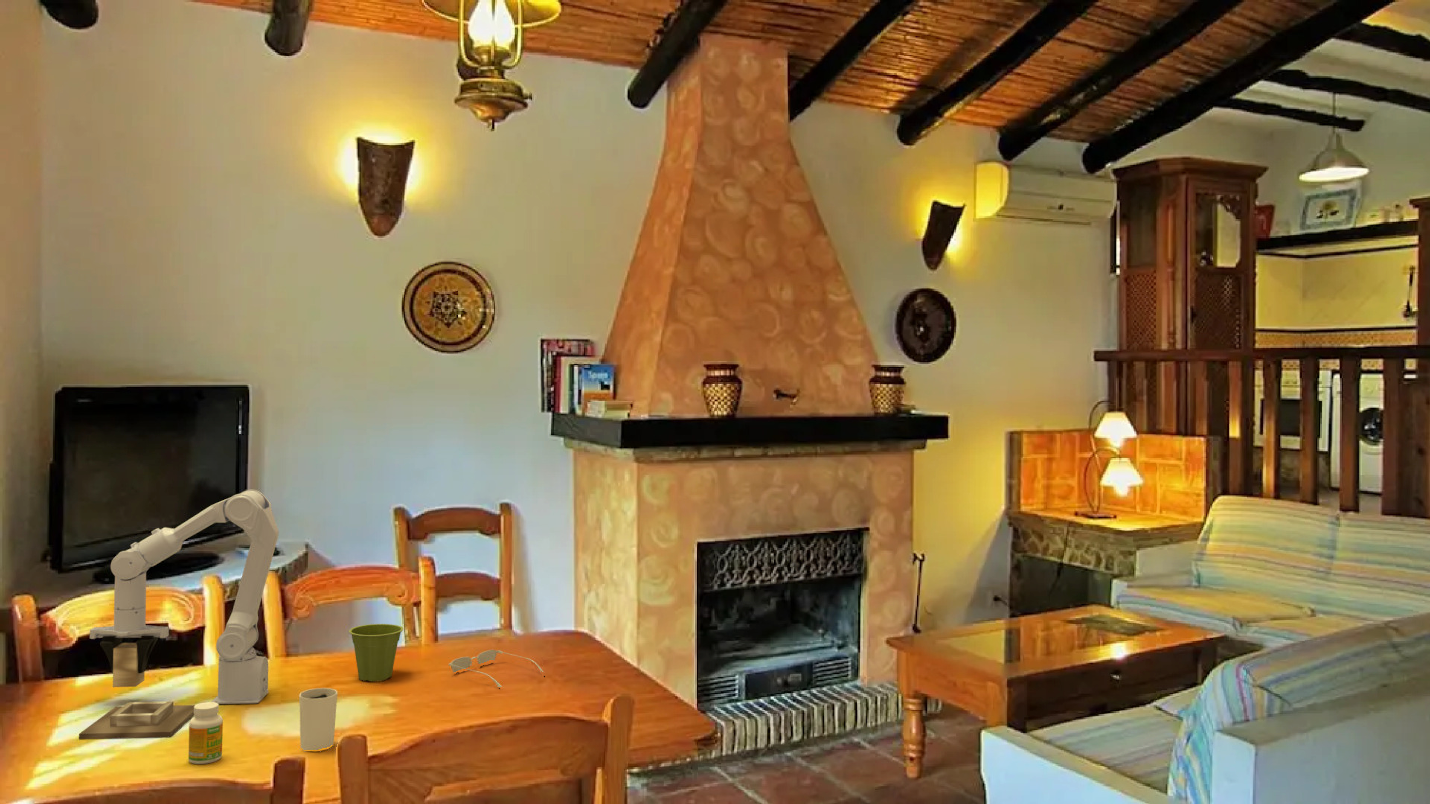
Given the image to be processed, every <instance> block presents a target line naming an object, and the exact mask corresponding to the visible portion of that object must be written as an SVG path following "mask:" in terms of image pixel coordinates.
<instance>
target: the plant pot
mask: <svg viewBox="0 0 1430 804" xmlns="http://www.w3.org/2000/svg"><path fill="white" fill-rule="evenodd" d="M403 631H404V627H403V626H401V625H397V624H392V623H371V624H363V625H357V626H353V627H351V628H350V629H349V630H348V632H349V634H350V635H351V639H352V644H353V647H354V654H355V655H354V656H355V661H356V667H357V675H358V679H359V680H361V681H362V680H363V682H364V681H365V682H366V681H369V682H372V681H377V682H380V681H381V682H383V681H385V680H388V679H389V678H391V677H392V675H393V669H394V664H395V660H396V655H397V649H398V644H399V641H400V638H401V633H402V632H403Z"/></svg>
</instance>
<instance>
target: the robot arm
mask: <svg viewBox="0 0 1430 804" xmlns="http://www.w3.org/2000/svg"><path fill="white" fill-rule="evenodd" d="M228 522H231V523H233V524H234V525H236V526H238V527H239V528H241V529H242V530H243V531H244V532H245V533H246V534H247V536H248V537H249V539H250V541H251V542H250V546H249V550H248V552H247V556H246V560H245V564H244V567H243V571H242V575H241V579H240V581H239V586H238V590H237V594H236V596H235V601H234V604H233V609H232V611H231V614H230V616H229V619H228V621H227V622H226V625H225V630H224V631H223V633H221V634H220V636H219V637H218V638H217V640H216V646H215V647H216V651H217V653H218V654H217V655H218V668H217V669H218V671H217V672H218V675H217V676H218V678H217V679H218V680H217V696H215V697H214V698H213V699H212V700H211V701H210V702H215V703H218V704H219V705H222V704H223V705H227V704H228V705H229V704H230V705H235V704H239V705H240V704H259V703H260V702H261V701H262V700H263V699H264V697H266V695H267V694H268V693H269V692H270V691H269V660H268V658H267V657H266V656H259V655H257V652H256V650H255V648H254V647H253V646H255V644H256V643H257V641H258V640H259V630H258V621H259V616H258V615H259V609H260V605H261V602H262V599H263V598H262V597H263V594H264V591H265V587H266V583H267V579H268V575H269V573H270V569H271V568H270V567H271V565H272V560H273V558H274V557H273V556H274V552H275V550H276V546H277V542H278V539H279V538H278V537H279V528H278V525H277V523H276V519H275V517H274V514H273V510H272V503H271V502H270V501H269V500H268V498H267V497H266V496H265V495H264V493H262V492H260V491H259V490H257V489H245V490H244V491H242V492H240V493H237V494H234V495H232V496H231V497H228V498H226V499H224V500H221V501H219V502H216V503H214V504H211V505H210V506H208V507H206V508H205V509H203V510H202V511H200V512H199V513H197V514H196V515H194V516H193V517H191V518H189V519H188V520H186V521H185V522H183V523H181V524H180V525H178V526H176V527H175V528H172V527H163V528H159V527H158V528H155V529H153V530H152V531H151V532H150V533H151V535H149V536H148V537H146V538H144V539H142V540H140V541H139V542H137V541H135V542H133V543H132V544H130V548H129V549H126V550H122V551H120V552H118V553H117V554H116V556H115V557H113V559H112V560H111V563H110V571H111V573H112V574H113V576H114V590H113V591H114V594H113V595H114V597H113V602H114V603H113V605H114V606H113V626H112V625H111V626H100V627H98V626H95V627H92V628H91V629H89V639H91V640H95V639H97V638H98V639H102V640H101V641H100V643H99V644H100V647H101V648H102V650H103V651H104V654H105V655H106V657H107V659H108V662H109V666H110V670H111V673H112V675H113V648H115V647H117V646H118V645H120V644H122V643H123V639H124V638H126V639H127V638H128V639H129V638H138V640H136V642H135V643H136V644H137V649H138V673H143V672H144V671H146V669H147V665H148V661H149V658H150V655H151V653H152V650H153V649H154V647H155V645H156V643H157V641H158V638H160V639H166V638H167V637H168V636H169V635H170V633H169V632H170V631H169V628H170V627H169V626H161V625H160V626H157V625H148V624H147V625H146V623H147V622H146V621H147V620H146V617H147V616H146V613H147V612H146V611H147V610H146V609H147V571H148V570H149V569H150V568H151V567H154V566H157V564H159V563H161V562H162V561H165V560H166V559H168V558H170V557H171V556H173V555H174V554H176V553H178V552H179V551H181V549H182V547H183V542H184V541H185V540H186V539H188V538H190V537H192V536H194V535H197V533H199V532H201V531H203V530H204V529H206V528H208V527H209V526H211V525H213V524H216V523H218V524H219V523H220V524H221V523H224V524H225V523H228ZM139 638H140V639H139Z"/></svg>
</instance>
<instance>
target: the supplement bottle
mask: <svg viewBox="0 0 1430 804" xmlns="http://www.w3.org/2000/svg"><path fill="white" fill-rule="evenodd" d="M194 705H195V706H194V716H193V717H192V718H191V719H190V720H189V724H188V754H187V755H188V759H187V760H188V762H189V763H191V764H194V765H195V764H196V765H205V764H212V763H215V762H217V761H219V760H220V759H221V758H222V756H223V734H224V733H223V730H224V729H223V728H224V727H223V726H224V724H223V723H224V719H223V717H222V716H221V715H220V714H218V713H219V710H220V708H219V707H220V706H219V705H220V704H218V703H215V702H211V701H209V702H208V701H207V702H200V703H197V704H194Z"/></svg>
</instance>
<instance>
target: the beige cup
mask: <svg viewBox="0 0 1430 804" xmlns="http://www.w3.org/2000/svg"><path fill="white" fill-rule="evenodd" d="M298 697H299V734H300V735H299V736H300V739H299V740H300V742H299V744H300V749H301V748H302V749H303V750H319V749H322V748H327V747H330V746H331V745H333V743H334V744H335V730H336V729H335V728H336V716H337V715H336V714H337V702H338V691H337V690H336V689H334V688H330V687H320V688H319V687H316V688H310V689H306V690H303V691H301V692H300V693H299V695H298ZM333 746H334V745H333Z"/></svg>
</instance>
